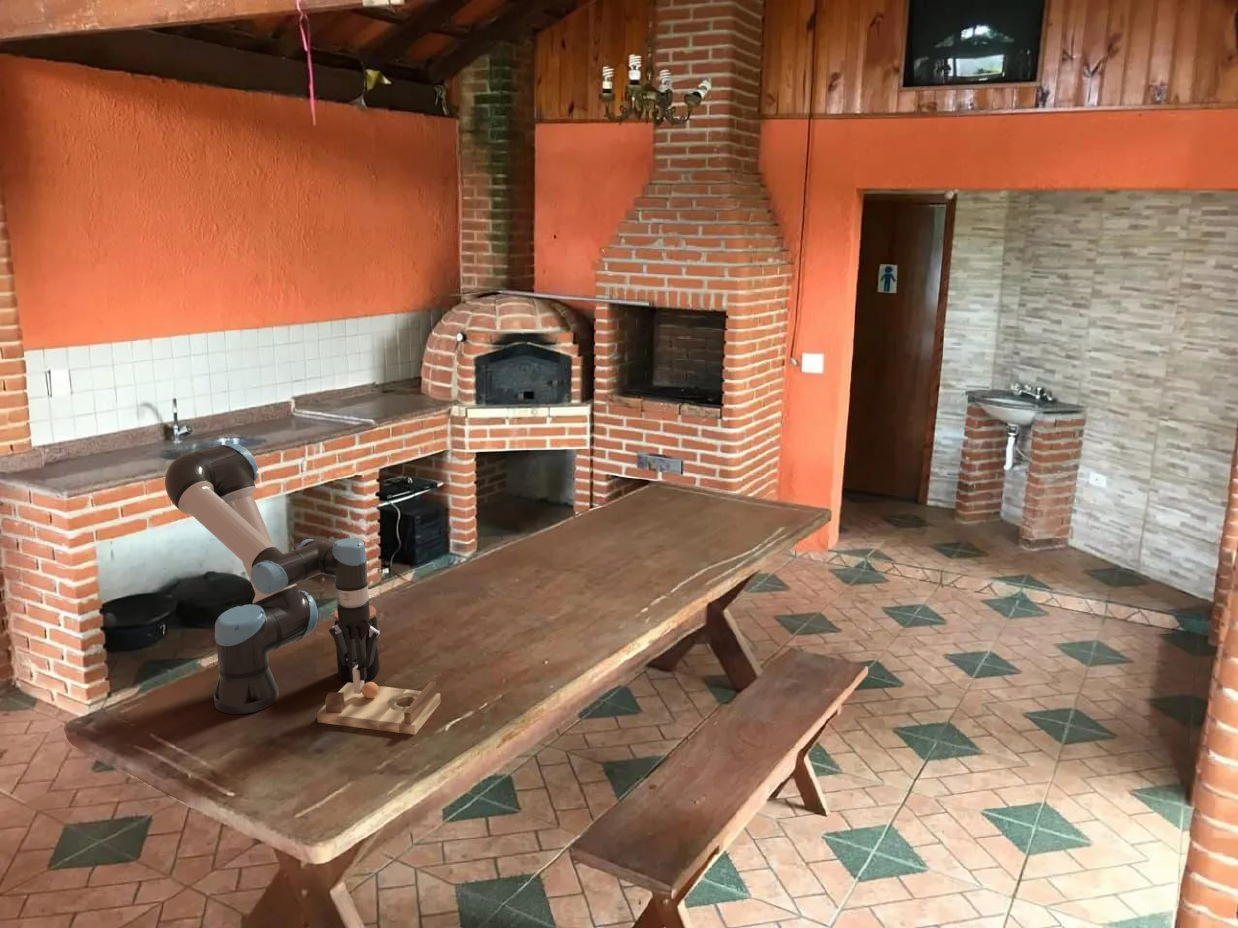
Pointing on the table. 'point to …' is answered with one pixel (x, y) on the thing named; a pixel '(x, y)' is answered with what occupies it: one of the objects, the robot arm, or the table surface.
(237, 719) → the table surface
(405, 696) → the board
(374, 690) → the ball
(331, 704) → the walnut cube
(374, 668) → the coffee jar
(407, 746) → the table surface
